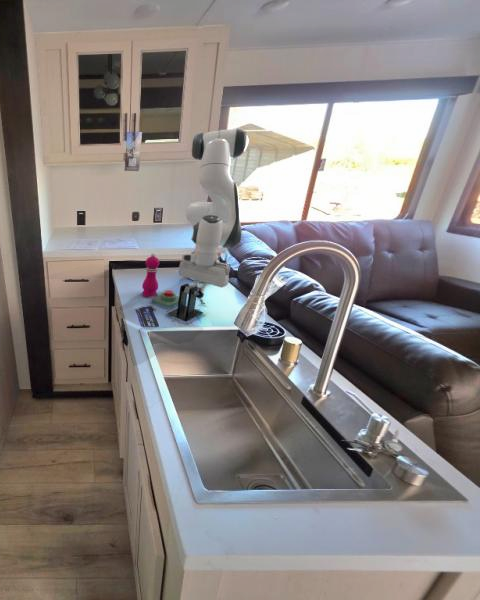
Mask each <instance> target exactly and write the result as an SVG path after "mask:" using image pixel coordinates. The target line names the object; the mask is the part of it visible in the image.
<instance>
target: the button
mask: <svg viewBox="0 0 480 600" xmlns="http://www.w3.org/2000/svg"><path fill="white" fill-rule="evenodd" d="M164 292H165V294H164V295H165V296H168V297H172V296H173V293H174V291H173V290H169V289H168V290H164Z"/></svg>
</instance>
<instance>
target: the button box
mask: <svg viewBox="0 0 480 600" xmlns="http://www.w3.org/2000/svg"><path fill="white" fill-rule="evenodd" d="M164 294H165V291H164V292H161V293H160V294H159V295H158V296H157V295H156V296H155V297H152V298H151V302H153V303H156V304H158V305H161V306H163V307H166V308H169V309H170V308H172V307H174V306H176V305H178V301H179V295H177V294H176V293H174V292H173V296H172V297H168V296H165V295H164Z"/></svg>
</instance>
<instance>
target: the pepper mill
mask: <svg viewBox="0 0 480 600" xmlns="http://www.w3.org/2000/svg"><path fill="white" fill-rule="evenodd" d="M159 265H160V260H159V258H158V257H156V253H151V254H150V256H149V257H147V258H146V259H145V266H146V267H145V268H146V269H145V270H146V276H145V279H144V280H143V282H142V287H141V288H142V289H143V290H142V296H143V297H145V298H151V297H154V296H157V291H158V289H159V283H158V280H157V272H158V267H159Z"/></svg>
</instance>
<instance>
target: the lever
mask: <svg viewBox="0 0 480 600" xmlns="http://www.w3.org/2000/svg"><path fill="white" fill-rule="evenodd" d="M189 289H190V288H189V287H185V289H184V292H185V293H188V294H187V295H189ZM204 296H205V294H204V292H200V291H197V296H196V299H200V298H202V299H203V298H204Z"/></svg>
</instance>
